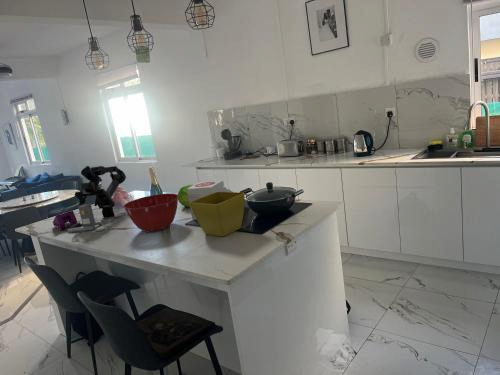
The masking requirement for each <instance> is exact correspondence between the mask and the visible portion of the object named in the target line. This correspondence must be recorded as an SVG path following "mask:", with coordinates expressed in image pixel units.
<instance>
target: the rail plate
mask: <svg viewBox="0 0 500 375" xmlns="http://www.w3.org/2000/svg"><path fill="white" fill-rule="evenodd" d="M95 223H96V225H95V226H94V227H93V226H90V227H83V224H82V222H77V223H76V224H74V225H72V226H71V225H70V226H69V227H70V228H67V233H69V234H73V233H79V232H80V233H81V232H90V231H91V232H92V231H94V230H96V229H98V228H99V227H101V226H103V222H102V221H101V220H100V221H95Z"/></svg>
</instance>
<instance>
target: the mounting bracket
mask: <svg viewBox="0 0 500 375" xmlns="http://www.w3.org/2000/svg"><path fill="white" fill-rule="evenodd" d="M66 223H69V225H70V227H71V226H72V225H74V224H76V223H78V220H77V217H76V214H75V211H74V210H70V211H67V212H63V213H60V214H56V215H55V216H54V218H53V221H52V224H53V226H54V227H57V229H58V231H63V230H65V228H66V225H65V224H66Z"/></svg>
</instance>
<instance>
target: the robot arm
mask: <svg viewBox="0 0 500 375" xmlns="http://www.w3.org/2000/svg"><path fill="white" fill-rule="evenodd" d="M107 173H109V174H110V175H109V177H110V178H111V182H110V184H109V185H108V187H107V188H106V190H105V189H104V188H100V183H101V182H103V179H102V178H101V176H103V175H105V174H107ZM80 175H81V176H83V178H84V179H86V180H87V181H88V182H83V183H80V189H81V190H84V191H75V192H74V196H75V197H76V198H77V199H78V201H79V206H81V205H85V204H86V201H87V200H86V199H87V197H91V196H92V197H93V196H95V200H94V207H98V208H99V210H100V209H101V213H102V217H103V219H107V218H112V217H116V215H115V211H114V208H113V207H115V206H116V203H115V201H114V200H113V199H112V197H113V195H114V194H115V192H116V191H117V189H118V187H119V185H120V184H123V183H124V182H125V180H127V179H126V178H127V176H126V174H125V172H124V171H123V170H122V169H120V168H118V166H117V165H113V166H107V167H106V166H104V165H103V166H102V165H99V166H91V167H90V166H89V165H86V166H85V167H84V168H82V170H81V171H80Z"/></svg>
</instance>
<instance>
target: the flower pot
mask: <svg viewBox="0 0 500 375" xmlns="http://www.w3.org/2000/svg"><path fill="white" fill-rule="evenodd" d="M190 205H191V208H192V210H193V213H194V215H195V217H196V219H197V220H196V221H197V223H198V225H199V226H200V228H201V230H202V231H203V232H204V234H205V235H210V236H215V237H225V236H228V235H229V234H232V233H233V232H236V231H237V230H239V229H241V228H242V224H243V219H244V218H243V217H244V212H245V193H244V192H234V191H232V192H215V193H212V194H210V195H207V196H204V197H202V198H199V199H197V200H194V201H191V202H190Z"/></svg>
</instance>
